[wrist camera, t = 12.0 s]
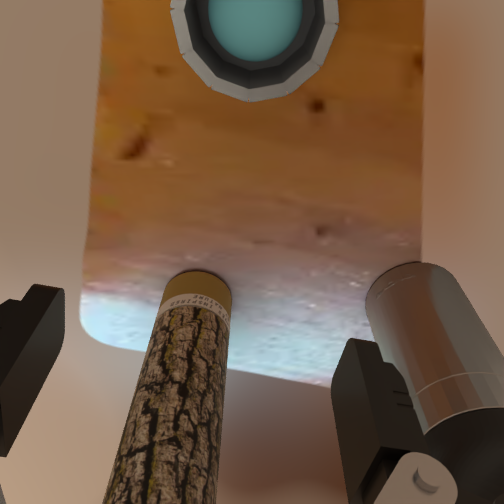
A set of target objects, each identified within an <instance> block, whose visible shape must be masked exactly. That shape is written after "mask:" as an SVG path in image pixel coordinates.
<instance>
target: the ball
mask: <svg viewBox="0 0 504 504" xmlns="http://www.w3.org/2000/svg"><path fill="white" fill-rule="evenodd" d="M302 13H303V4H302V0H209V3H208V15H209V21H210V25H211V28H212V31H213V33H214V35H215V37H216V39H217V40H218V42H219V43H220V44H221V46H222V47H223V48H224V49H225V50H227V51H228V52H229V53H230V54H232V55H233V56H235V57H237V58H239V59H242V60H246V61H254V62H258V61H265V60H269V59H271V58H274V57H276V56H277V55H279V54H280V53H282V52H283V51H284V50H285V49H286V48H287V47H288V46H289V45H290V44H291V43H292V41H293V40H294V38H295V37H296V35H297V33H298V30H299V28H300V24H301V20H302Z"/></svg>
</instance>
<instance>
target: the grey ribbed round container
mask: <svg viewBox="0 0 504 504" xmlns="http://www.w3.org/2000/svg"><path fill="white" fill-rule="evenodd" d="M208 3H209V0H171V5H170V7H171V8H173V9H171V10H170V13H171V17H172V21H173V25H174V29H175V33H176V37H177V41H178V45H179V50H180V54H182V53H184V55H183V56H182V57H183V58H184V59H185V61H186V62H187V63H188V64H189V65H190V66H191V68H192V69H193V70H194V71H195V72H196V73H197V74H198V76H199V77H200V78H201V79H202V80H203V81H204V83H205V84H206V85H207V86H208V87H210V86H211V85H212V84H213V85H212V88H211V89H212V90H215V91H218V92H220V93H223V94H226V95H229V96H231V97H234V98H237V99H239V100H242V101H245V102H247V101H248V98H249V101H250V102H255V101H261V100H266V99H272V98H277V97H283V96H287V92H288V93H289V95H290V94H291V93H292V92H293V91H294V90H295V89H297V88H298V87H299V86H300V85H301V84H303V83H304V82H305V81H306V80H307V79H309V78H310V77H311V76H312V75H313V74H315V73H316V72H317V71H318V70H319V69H320V67H319V65H320V66H322V65H323V63H324V60H325V58H326V55H327V53H328V51H329V48H330V46H331V43H332V41H333V38H334V36H335V34H336V31H337V29H338V26H339V25H337V24H336V23H339V13H338V1H337V0H302V4H303V13H302V20H301V24H300V28H299V30H298V33H297V35H296V37H295V38H294V40H293V41H292V43H291V44H290V45H289V46H288V47H287V48H286V49H285V50H284V51H283V52H282V53H280V54H279V55H277V56H276V57H274V58H271V59H269V60H265V61H258V62H254V61H246V60H242V59H239V58H237V57H235V56H233V55H232V54H230V53H229V52H228V51H227V50H225V49H224V48H223V47H222V46H221V44H220V43H219V42H218V40H217V39H216V37H215V35H214V33H213V31H212V28H211V25H210V21H209V15H208ZM286 91H287V92H286Z"/></svg>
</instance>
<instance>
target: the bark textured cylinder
mask: <svg viewBox="0 0 504 504" xmlns="http://www.w3.org/2000/svg"><path fill="white" fill-rule="evenodd" d="M231 305H232V299H231V294H230V291H229V289H228V288H227V286H226V285H225V284H224V283H223V282H222V281H221V280H220V279H218V278H217V277H215V276H213V275H211V274H209V273H205V272H199V271H193V272H186V273H183V274H180V275H178V276H176V277H175V278H173V279H172V280H171V281H170V282H169V283H168V285H167V286H166V288H165V290H164V293H163V297H162V300H161V304H160V307H159V311H158V313H157V317H156V320H155V324H154V327H153V330H152V334H151V337H150V341H149V344H148V348H147V351H146V355H145V358H144V362H143V365H142V368H141V372H140V375H139V379H138V382H137V386H136V389H135V393H134V396H133V400H132V403H131V406H130V410H129V413H128V417H127V420H126V424H125V427H124V430H123V434H122V437H121V441H120V444H119V448H118V451H117V455H116V458H115V462H114V465H113V468H112V472H111V475H110V479H109V483H108V486H107V489H106V493H105V496H104V499H103V503H102V504H216V493H217V482H218V481H217V480H218V468H219V456H220V444H221V432H222V419H223V407H224V395H225V383H226V370H227V358H228V345H229V333H230V317H231Z"/></svg>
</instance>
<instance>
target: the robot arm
mask: <svg viewBox="0 0 504 504" xmlns="http://www.w3.org/2000/svg"><path fill="white" fill-rule="evenodd" d="M365 308H366V313H367V317H368V320H369V323H370V326H371V330H372V333H373V336H374V340H375V342H372V341H367V340H361V339H355V338H350V339H349V340H348V341H347V343H346V346H345V348H344V351H343V353H342V356H341V358H340V360H339V363H338V365H337V368H336V370H335V373H334V375H333V379H332V384H331V399H332V405H333V411H334V417H335V423H336V429H337V435H338V441H339V447H340V454H341V460H342V466H343V472H344V478H345V484H346V490H347V496H348V502H349V504H504V357H503V355H502V354H501V352H500V350H499V349H498V347H497V346H496V344H495V342H494V341H493V339H492V337H491V336H490V334H489V333H488V331H487V329H486V328H485V326H484V324H483V323H482V321H481V320H480V318H479V316H478V315H477V313H476V311H475V310H474V308H473V307H472V305H471V303H470V301H469V300H468V298H467V297H466V295H465V293H464V292H463V290H462V289H461V287H460V285H459V284H458V282H457V280H456V279H455V278H454V276H453V275H452V274H451V273H450V272H448V271H447V270H446V269H444V268H442V267H440V266H438V265H435V264H430V263H418V262H417V263H410V264H405V265H402V266H399V267H396V268H394V269H392V270H390V271H388V272H386V273H385V274H384V275H382V276H381V277H380V278H379V279H378V280H377V281H376V282H375V283H374V284H373V285H372V287H371V289H370V290H369V292H368V295H367V298H366V307H365ZM64 333H65V293H64V289H63V288H57V287H51V286H45V285H40V284H33V285H32V286H31V288H30V289H29V290H28V292H27V293H26V295H25V296H24V297H23V299H22V300H21V301H19V300H12V299H8V300H7V301H5V302H4V303H2V304H0V457H7V454H8V453H9V451H10V448H11V447H12V445H13V443H14V441H15V439H16V437H17V435H18V433H19V431H20V429H21V427H22V425H23V423H24V421H25V419H26V417H27V415H28V413H29V411H30V409H31V408H32V406H33V403H34V402H35V400H36V398H37V396H38V394H39V392H40V390H41V388H42V386H43V384H44V382H45V380H46V378H47V376H48V374H49V372H50V370H51V368H52V367H53V365H54V363H55V361H56V359H57V357H58V355H59V353H60V350H61V347H62V344H63V339H64ZM0 504H6V502H5V499H4V495H3V492H2V489H1V485H0Z"/></svg>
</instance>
